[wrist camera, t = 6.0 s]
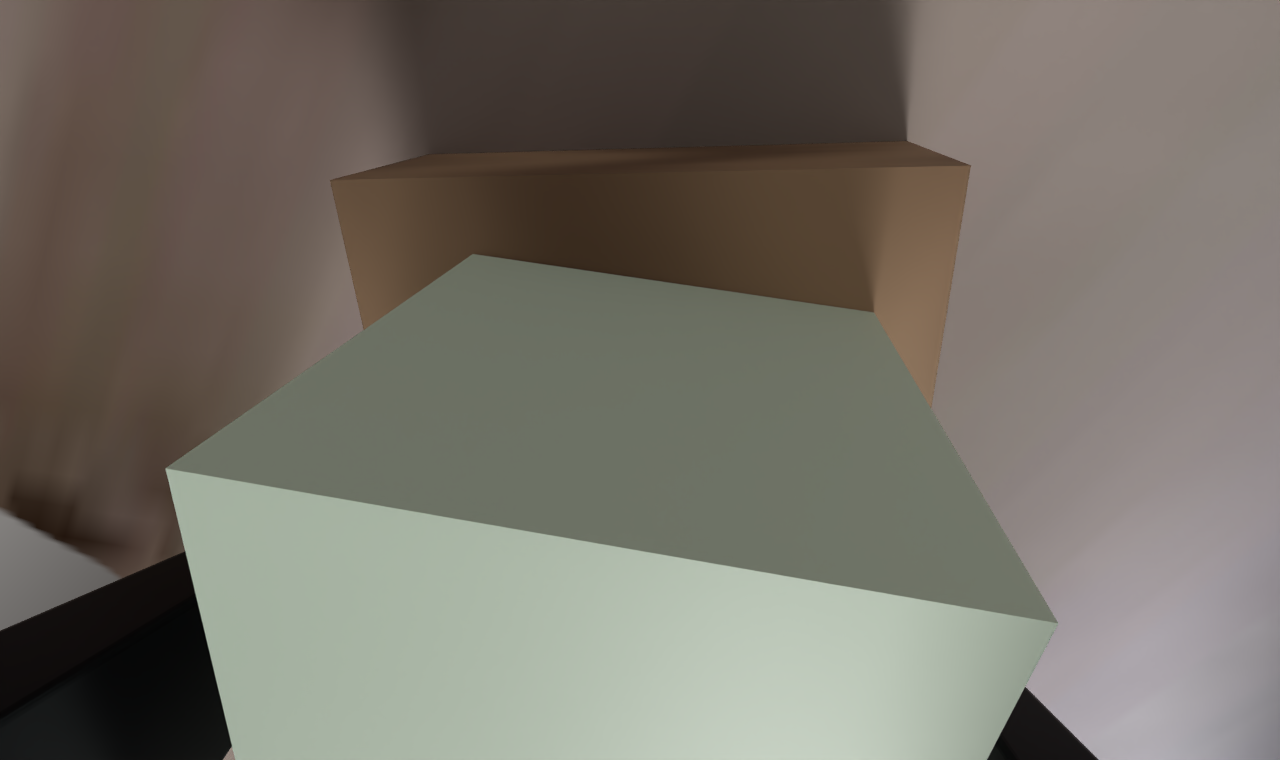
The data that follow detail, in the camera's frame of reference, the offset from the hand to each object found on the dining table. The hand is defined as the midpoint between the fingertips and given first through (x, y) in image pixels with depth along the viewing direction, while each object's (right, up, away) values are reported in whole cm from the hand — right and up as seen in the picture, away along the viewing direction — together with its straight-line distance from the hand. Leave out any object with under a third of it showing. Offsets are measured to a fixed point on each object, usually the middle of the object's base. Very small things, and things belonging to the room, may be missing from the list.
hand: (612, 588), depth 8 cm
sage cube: (0, +1, +3) cm, 3 cm away
